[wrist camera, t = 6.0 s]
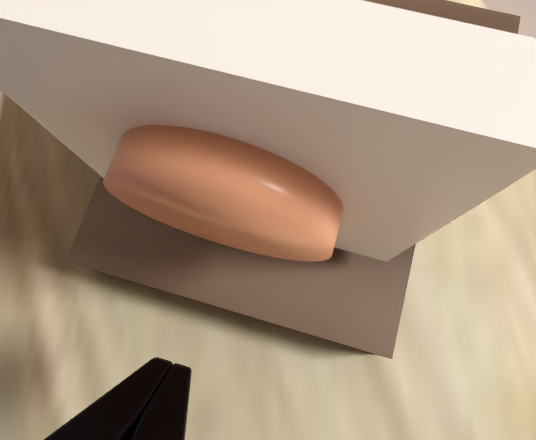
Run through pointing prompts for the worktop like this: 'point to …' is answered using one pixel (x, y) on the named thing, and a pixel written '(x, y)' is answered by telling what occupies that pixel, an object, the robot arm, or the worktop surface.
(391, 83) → the button plate
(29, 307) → the worktop surface
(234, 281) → the brown wooden stand
